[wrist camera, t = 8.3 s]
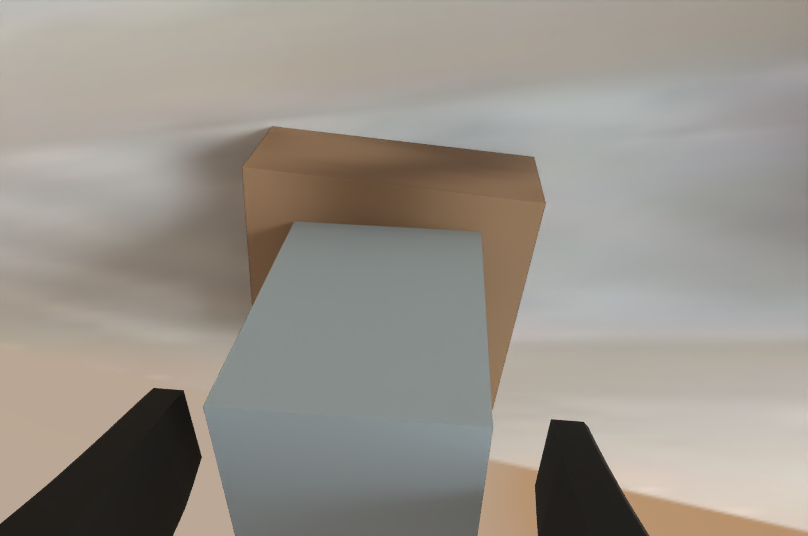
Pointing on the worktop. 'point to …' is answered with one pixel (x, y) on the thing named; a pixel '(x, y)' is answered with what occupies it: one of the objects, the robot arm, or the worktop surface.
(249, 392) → the slate block
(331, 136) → the walnut plinth
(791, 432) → the worktop surface
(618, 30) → the worktop surface
